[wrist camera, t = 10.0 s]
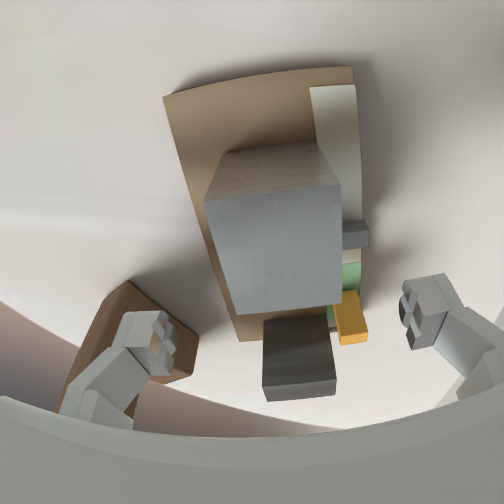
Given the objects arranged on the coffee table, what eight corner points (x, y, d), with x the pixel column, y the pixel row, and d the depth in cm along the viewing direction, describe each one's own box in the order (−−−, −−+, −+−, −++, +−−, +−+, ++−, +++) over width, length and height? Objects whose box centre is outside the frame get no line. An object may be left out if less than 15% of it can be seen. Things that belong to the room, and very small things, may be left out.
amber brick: (331, 292, 21) (341, 336, 18) (355, 289, 21) (368, 332, 17) (331, 302, 21) (340, 345, 18) (355, 299, 21) (366, 341, 18)
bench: (170, 94, 15) (110, 119, 9) (345, 66, 14) (400, 72, 8) (240, 328, 26) (234, 403, 20) (352, 315, 25) (368, 389, 19)
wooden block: (201, 336, 27) (171, 525, 13) (172, 349, 29) (137, 516, 15) (128, 277, 23) (47, 487, 9) (103, 298, 25) (32, 476, 11)
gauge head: (222, 153, 16) (202, 202, 11) (359, 136, 15) (403, 177, 10) (251, 272, 20) (246, 344, 16) (360, 258, 19) (384, 326, 14)
